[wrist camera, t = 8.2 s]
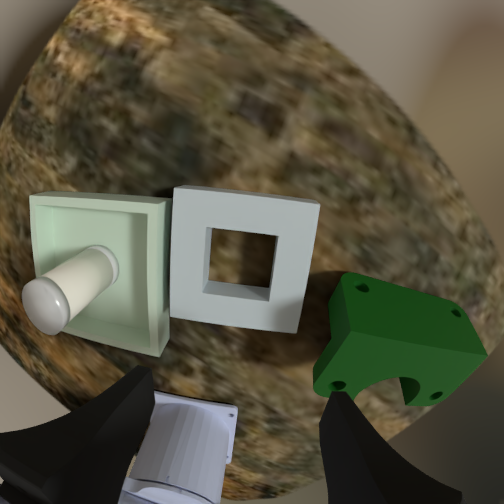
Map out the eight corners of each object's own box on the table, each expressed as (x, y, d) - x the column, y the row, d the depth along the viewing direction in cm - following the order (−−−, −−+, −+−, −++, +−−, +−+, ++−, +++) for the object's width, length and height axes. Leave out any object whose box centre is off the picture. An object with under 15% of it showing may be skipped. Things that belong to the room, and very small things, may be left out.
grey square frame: (294, 317, 20) (296, 333, 18) (178, 302, 20) (170, 316, 18) (314, 200, 18) (320, 204, 16) (183, 185, 18) (174, 187, 16)
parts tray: (169, 337, 21) (159, 357, 19) (61, 311, 21) (45, 325, 19) (172, 198, 18) (158, 204, 16) (50, 190, 18) (29, 195, 16)
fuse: (120, 289, 20) (67, 341, 13) (85, 282, 20) (28, 327, 13) (118, 247, 19) (57, 288, 12) (82, 242, 19) (17, 277, 12)
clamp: (326, 307, 24) (282, 380, 17) (356, 249, 21) (320, 314, 14) (439, 367, 21) (431, 452, 13) (480, 318, 18) (494, 403, 10)
